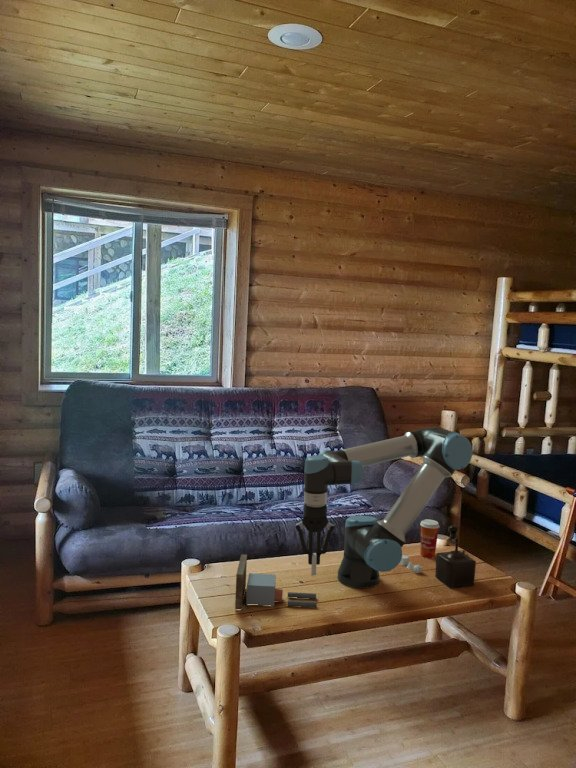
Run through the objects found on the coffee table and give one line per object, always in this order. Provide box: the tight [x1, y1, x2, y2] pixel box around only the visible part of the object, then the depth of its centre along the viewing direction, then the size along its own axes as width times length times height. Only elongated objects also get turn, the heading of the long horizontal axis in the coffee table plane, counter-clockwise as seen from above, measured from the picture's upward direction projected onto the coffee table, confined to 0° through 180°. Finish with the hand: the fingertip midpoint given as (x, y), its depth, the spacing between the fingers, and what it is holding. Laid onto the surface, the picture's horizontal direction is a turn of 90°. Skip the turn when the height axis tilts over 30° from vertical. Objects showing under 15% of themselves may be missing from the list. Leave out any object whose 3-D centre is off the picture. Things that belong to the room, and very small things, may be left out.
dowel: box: [274, 588, 284, 603], centre depth 194 cm, size 10×4×4 cm, turn 89°
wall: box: [234, 553, 248, 610], centre depth 194 cm, size 2×16×12 cm, turn 179°
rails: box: [286, 591, 318, 609], centre depth 194 cm, size 10×7×2 cm
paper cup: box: [419, 519, 441, 559], centre depth 239 cm, size 8×8×14 cm
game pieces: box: [400, 554, 423, 575], centre depth 226 cm, size 12×3×3 cm, turn 25°
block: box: [245, 572, 277, 607], centre depth 194 cm, size 9×9×7 cm
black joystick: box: [434, 525, 477, 589], centre depth 218 cm, size 16×11×18 cm
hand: (313, 573), depth 193 cm, fingers closed
